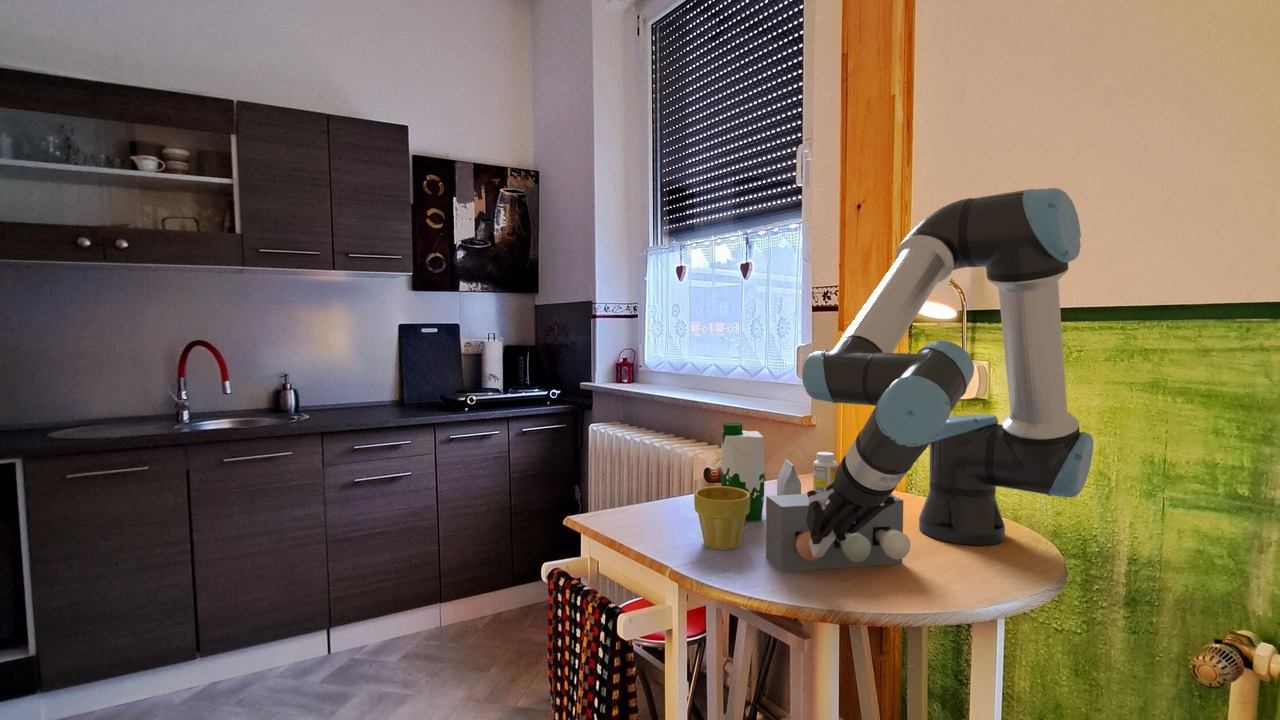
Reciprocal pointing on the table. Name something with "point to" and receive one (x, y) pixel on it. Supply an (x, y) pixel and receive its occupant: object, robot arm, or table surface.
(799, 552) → the terracotta button
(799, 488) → the white gabled block
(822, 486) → the supplement bottle
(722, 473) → the milk carton
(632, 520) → the table surface
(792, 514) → the control box
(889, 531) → the ivory button
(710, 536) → the plant pot
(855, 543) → the sage button
